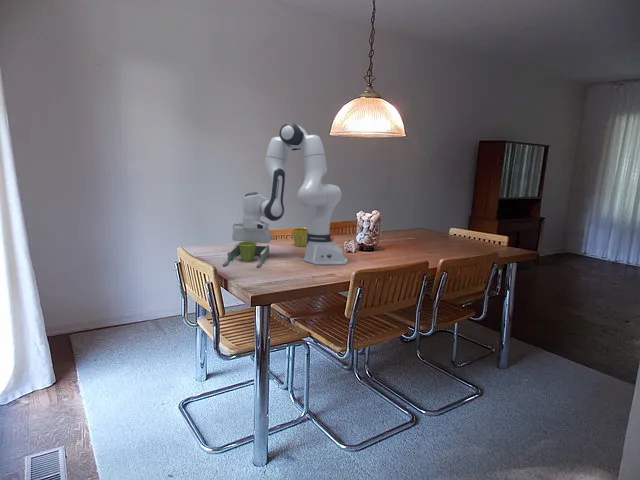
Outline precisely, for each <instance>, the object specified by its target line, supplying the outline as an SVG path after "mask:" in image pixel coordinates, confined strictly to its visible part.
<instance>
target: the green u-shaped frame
mask: <svg viewBox="0 0 640 480" xmlns="http://www.w3.org/2000/svg"><path fill="white" fill-rule="evenodd" d="M238 255H241V254H240V248H239V245H238V243H236V244H235V245H234V246H233V247H232V248H231V249H229V250H228V251H227V262H229V263H231V262H232V261H233V260H234V259H235V258H236V257H237V256H238ZM254 255H260V259H259V260H260V262H259V263H262V265H263V264H264V262H265V261H266V260H267V258H268V257H269V255H270V245H256V248H255V254H254Z"/></svg>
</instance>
